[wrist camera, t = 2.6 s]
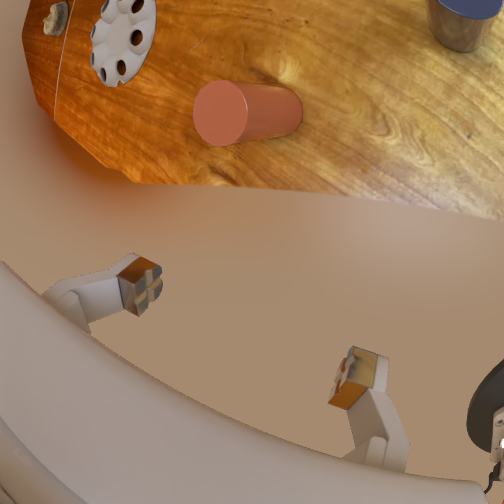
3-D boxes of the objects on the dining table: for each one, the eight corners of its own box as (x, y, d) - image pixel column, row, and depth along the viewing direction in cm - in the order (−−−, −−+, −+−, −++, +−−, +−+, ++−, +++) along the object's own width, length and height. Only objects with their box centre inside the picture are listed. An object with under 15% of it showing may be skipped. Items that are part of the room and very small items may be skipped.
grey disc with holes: (171, -17, 28) (161, -20, 26) (138, 99, 40) (127, 100, 38) (108, -14, 33) (99, -15, 31) (86, 76, 45) (78, 77, 43)
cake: (74, 8, 40) (54, 9, 36) (62, 42, 47) (43, 45, 43) (62, -4, 40) (44, -2, 36) (51, 28, 47) (34, 30, 43)
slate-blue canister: (493, 49, 14) (519, 16, 7) (443, 57, 18) (447, 24, 10) (467, -4, 13) (474, -53, 6) (417, 6, 16) (404, -44, 9)
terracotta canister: (310, 127, 28) (257, 132, 21) (266, 143, 32) (205, 156, 24) (291, 78, 27) (232, 67, 19) (249, 98, 30) (184, 98, 23)
